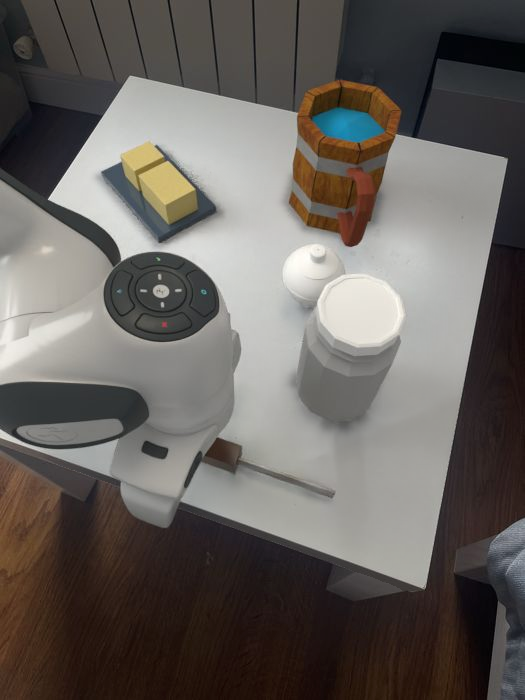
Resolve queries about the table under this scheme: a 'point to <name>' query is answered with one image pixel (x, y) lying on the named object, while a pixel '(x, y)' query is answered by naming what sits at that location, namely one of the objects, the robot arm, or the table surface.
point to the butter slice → (140, 162)
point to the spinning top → (311, 273)
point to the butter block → (168, 192)
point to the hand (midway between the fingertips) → (195, 444)
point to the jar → (349, 346)
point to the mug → (342, 156)
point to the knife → (253, 466)
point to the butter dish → (146, 210)
